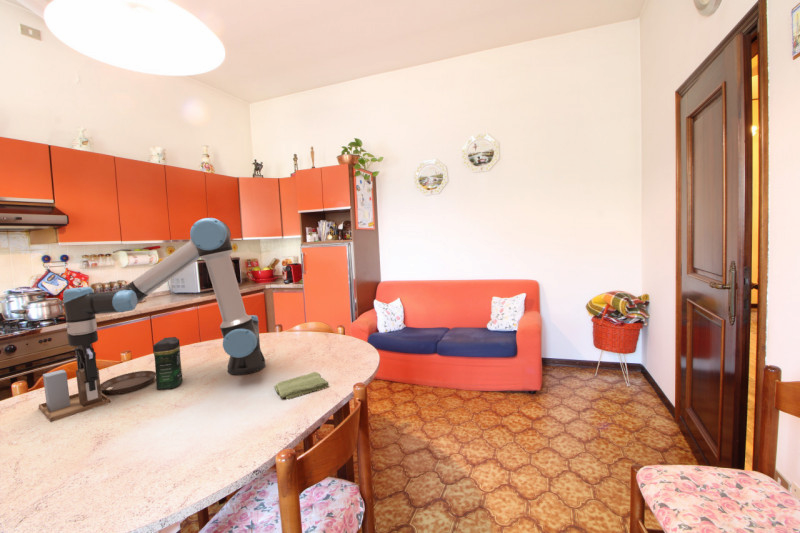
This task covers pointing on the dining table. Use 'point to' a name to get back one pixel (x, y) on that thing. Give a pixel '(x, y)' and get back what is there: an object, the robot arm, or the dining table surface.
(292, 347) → the dining table surface
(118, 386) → the plant saucer
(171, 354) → the coffee jar
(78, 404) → the parts tray
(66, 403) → the plain carton
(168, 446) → the dining table surface
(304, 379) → the washcloth
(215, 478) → the dining table surface
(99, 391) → the labelled carton
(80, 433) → the dining table surface
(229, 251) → the robot arm
